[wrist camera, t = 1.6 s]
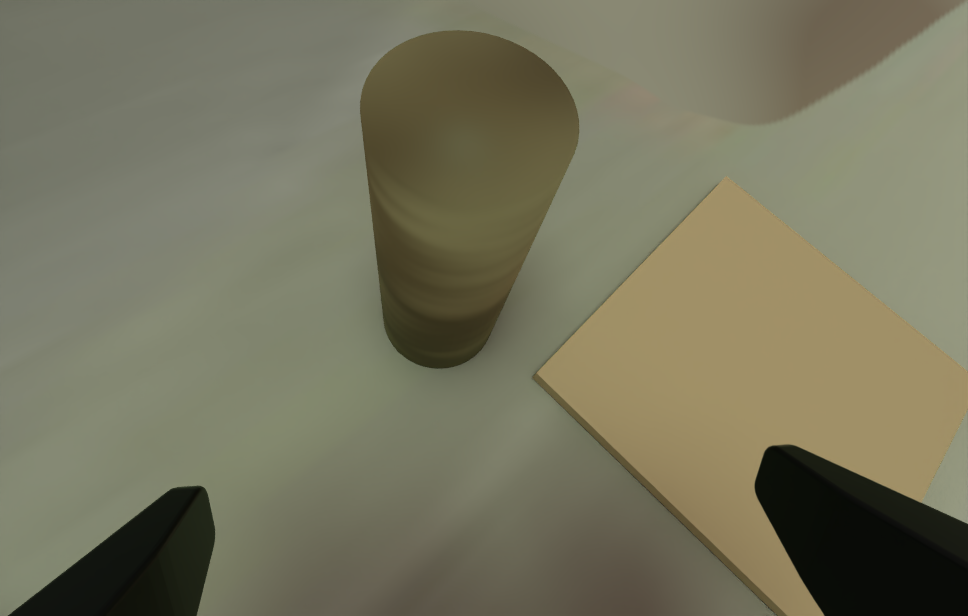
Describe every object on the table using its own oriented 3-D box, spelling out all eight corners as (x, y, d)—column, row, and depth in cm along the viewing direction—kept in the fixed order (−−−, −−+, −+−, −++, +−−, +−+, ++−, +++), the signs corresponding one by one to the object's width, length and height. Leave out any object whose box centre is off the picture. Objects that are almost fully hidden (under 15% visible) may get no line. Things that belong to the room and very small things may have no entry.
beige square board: (964, 385, 26) (981, 382, 25) (824, 660, 20) (839, 666, 20) (718, 184, 29) (726, 176, 28) (532, 377, 23) (536, 372, 22)
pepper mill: (514, 318, 24) (621, 124, 12) (437, 391, 22) (474, 248, 10) (440, 247, 25) (471, 1, 13) (360, 312, 23) (311, 96, 11)
